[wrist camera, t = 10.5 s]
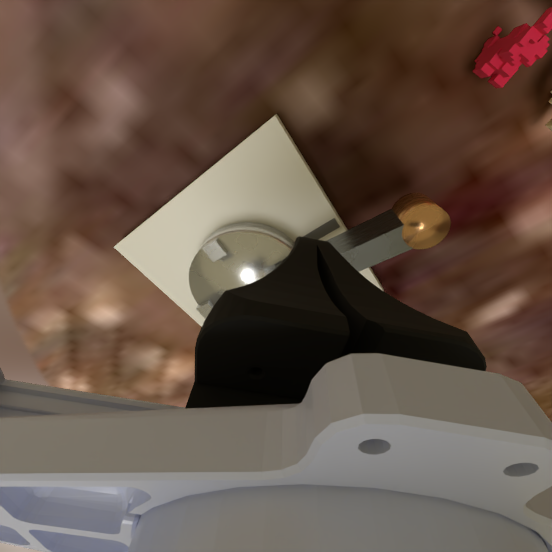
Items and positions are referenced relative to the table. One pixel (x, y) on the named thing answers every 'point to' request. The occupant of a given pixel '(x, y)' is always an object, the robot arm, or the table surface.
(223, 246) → the grey metal handled bowl
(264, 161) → the cap plate
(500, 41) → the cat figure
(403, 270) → the table surface
